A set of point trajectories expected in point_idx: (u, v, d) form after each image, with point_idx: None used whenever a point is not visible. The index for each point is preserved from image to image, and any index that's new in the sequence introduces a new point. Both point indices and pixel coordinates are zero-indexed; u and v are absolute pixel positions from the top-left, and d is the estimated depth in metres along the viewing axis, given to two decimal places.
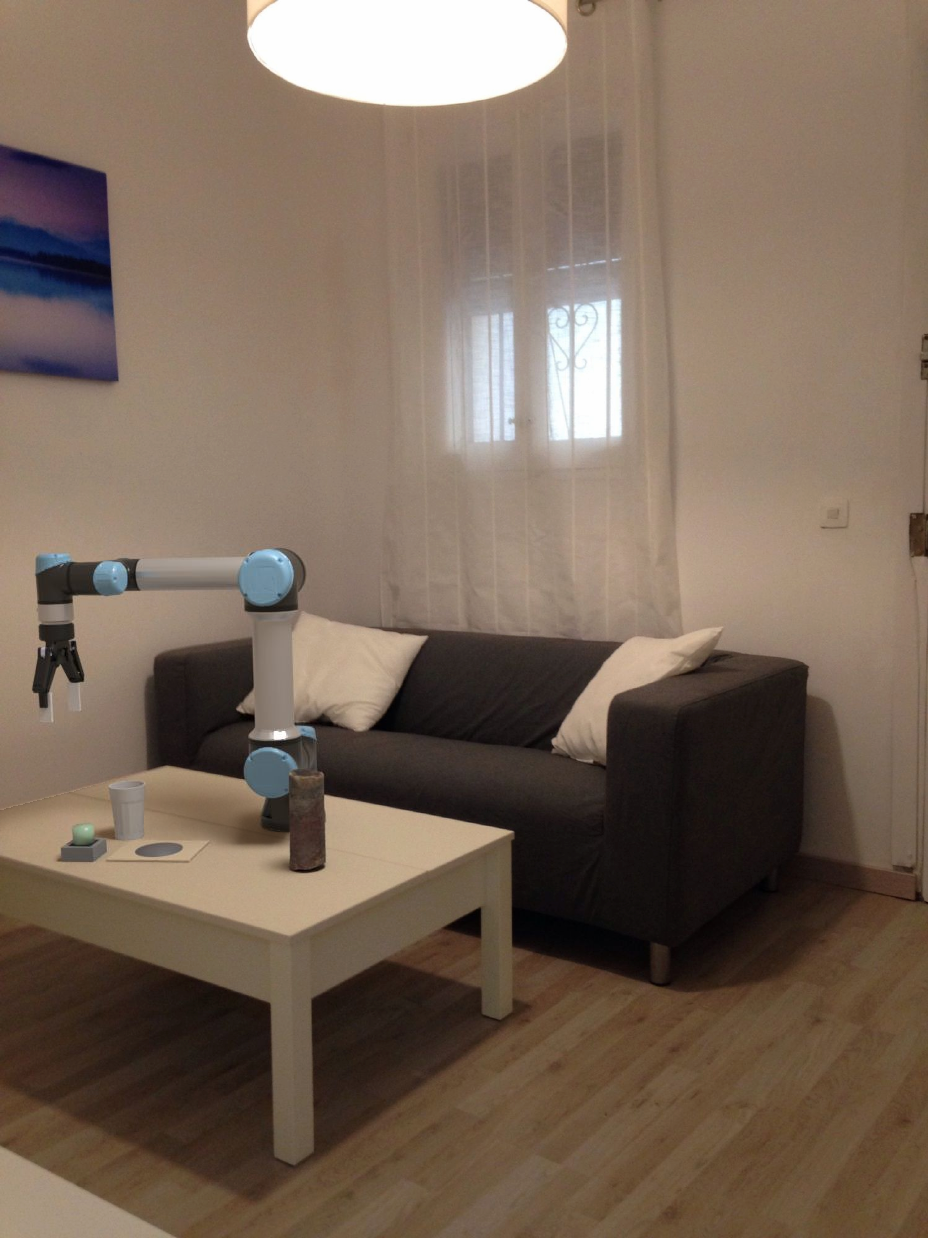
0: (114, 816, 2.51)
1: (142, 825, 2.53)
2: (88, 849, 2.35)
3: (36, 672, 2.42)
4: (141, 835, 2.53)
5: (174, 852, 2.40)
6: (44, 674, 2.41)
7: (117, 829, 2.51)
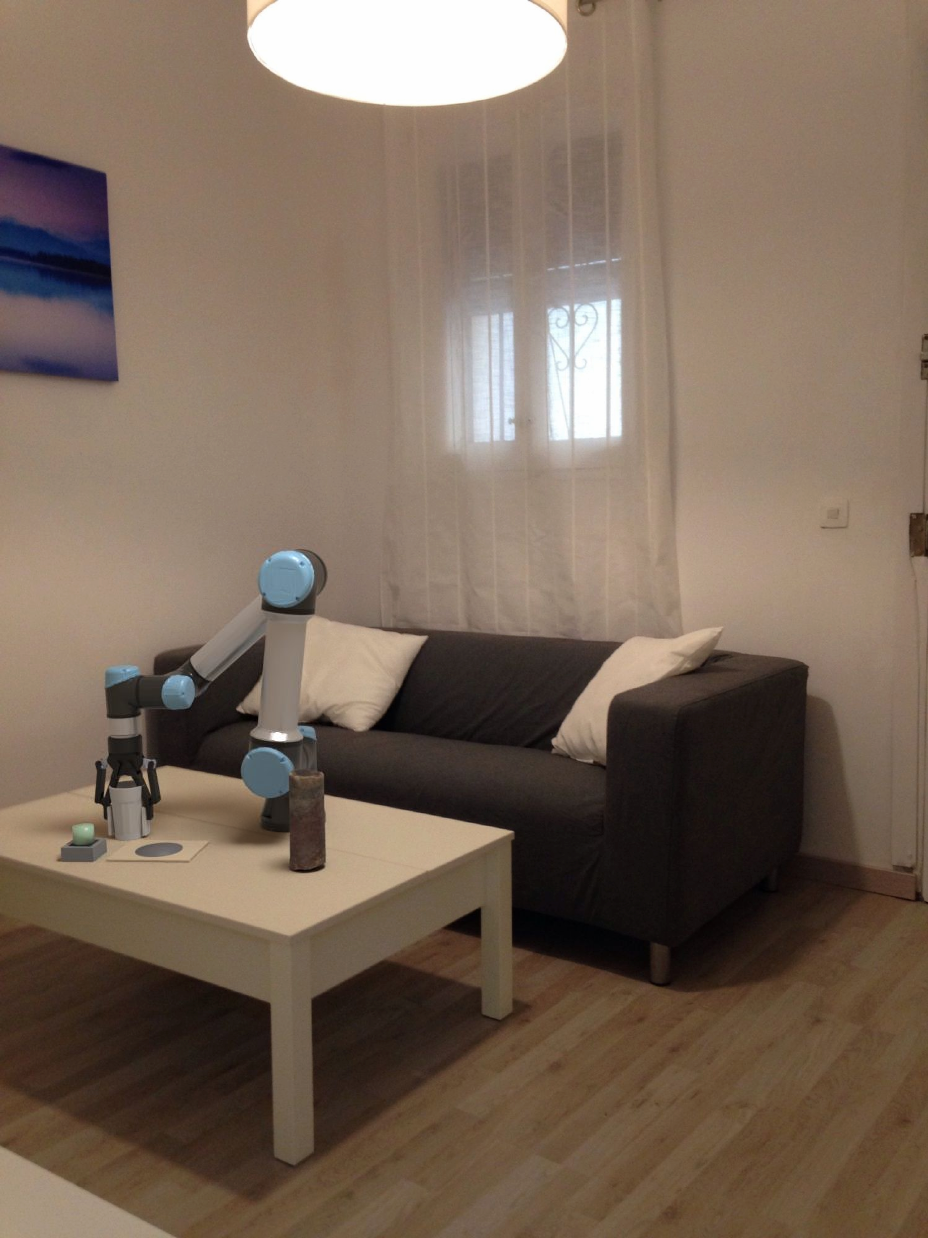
0: (114, 816, 2.51)
1: None
2: (88, 849, 2.35)
3: None
4: (141, 835, 2.53)
5: (174, 852, 2.40)
6: (96, 787, 2.52)
7: (117, 829, 2.51)
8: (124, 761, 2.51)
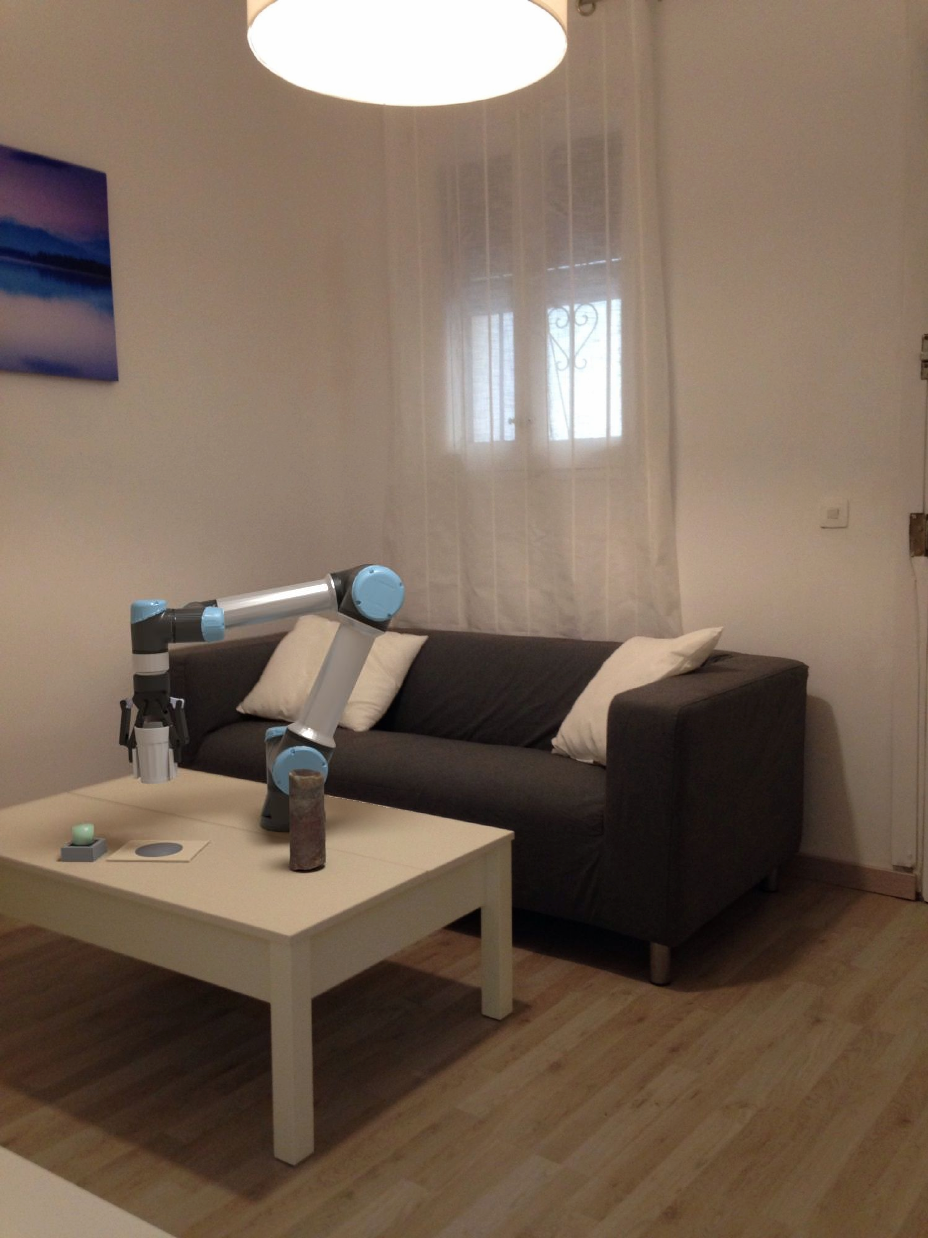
0: (140, 758, 2.38)
1: (169, 768, 2.40)
2: (88, 849, 2.35)
3: None
4: (168, 779, 2.39)
5: (174, 852, 2.40)
6: None
7: (143, 772, 2.38)
8: (150, 700, 2.38)
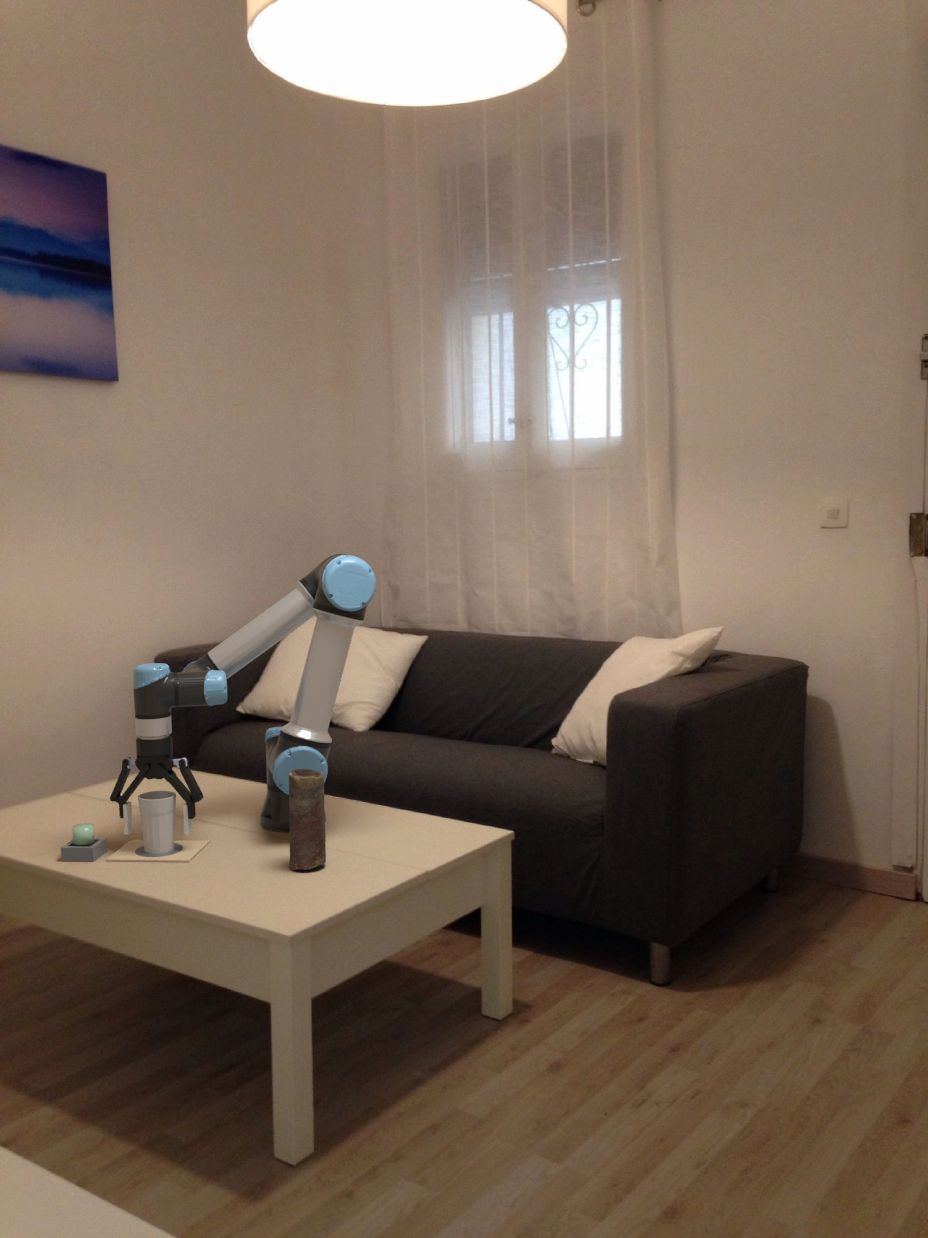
0: (143, 828, 2.39)
1: (173, 838, 2.41)
2: (88, 849, 2.35)
3: None
4: (172, 848, 2.41)
5: (174, 852, 2.40)
6: None
7: (147, 842, 2.39)
8: (153, 764, 2.39)
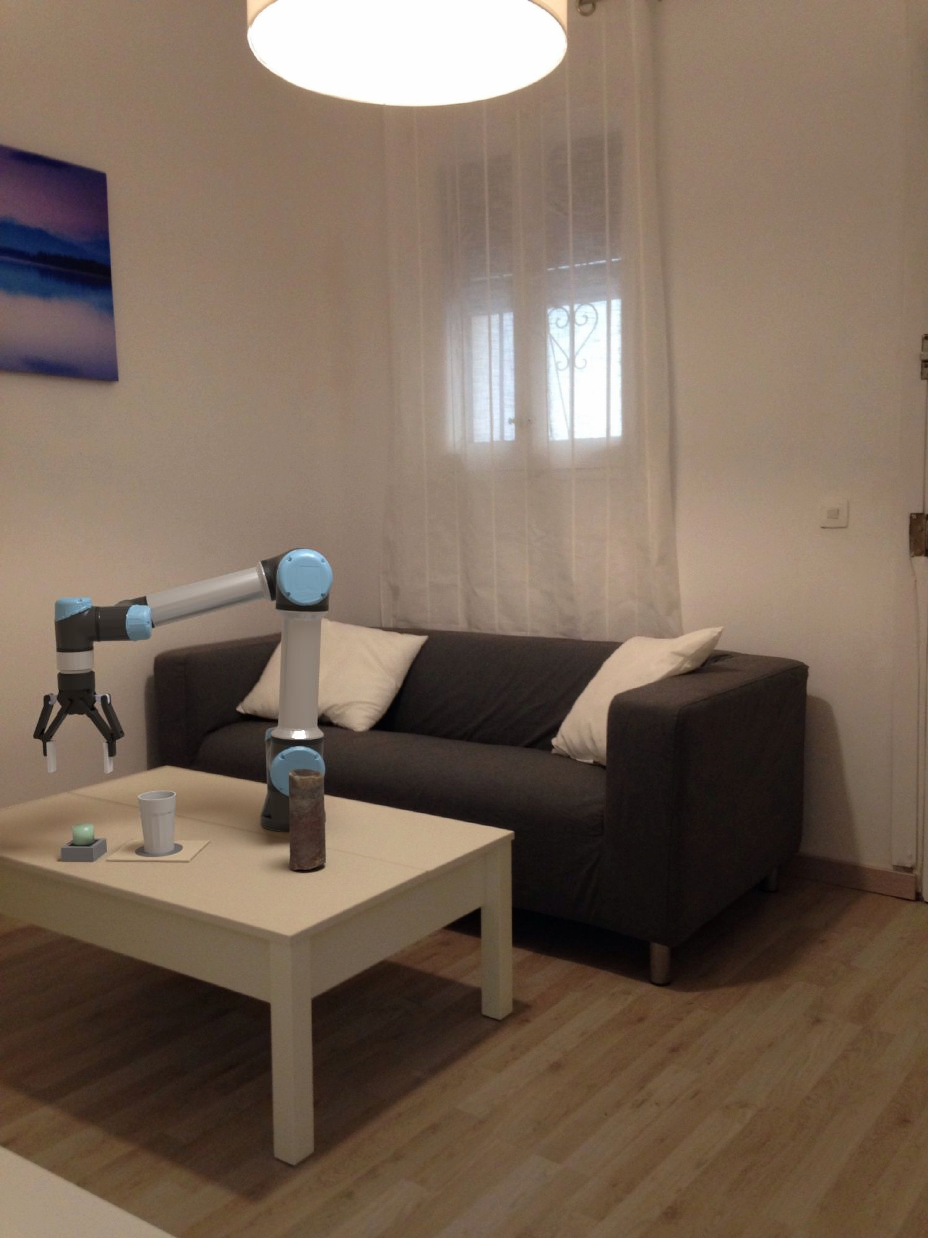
0: (143, 828, 2.39)
1: (173, 838, 2.41)
2: (88, 849, 2.35)
3: None
4: (171, 848, 2.41)
5: (174, 852, 2.40)
6: (38, 721, 2.36)
7: (147, 842, 2.39)
8: (75, 699, 2.35)
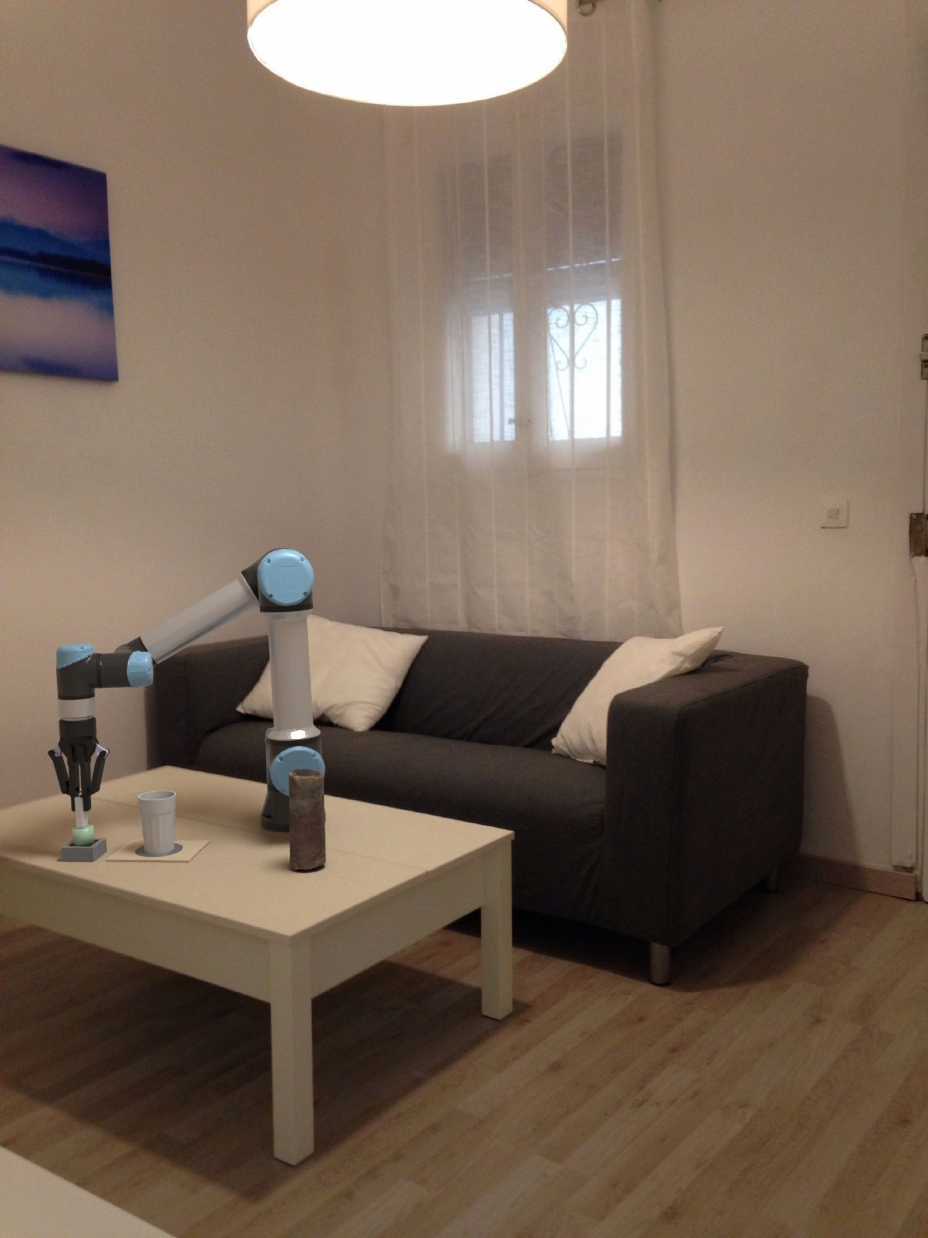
0: (143, 828, 2.39)
1: (173, 838, 2.41)
2: (88, 849, 2.35)
3: None
4: (171, 848, 2.41)
5: (174, 852, 2.40)
6: (58, 778, 2.37)
7: (147, 842, 2.39)
8: (76, 745, 2.36)
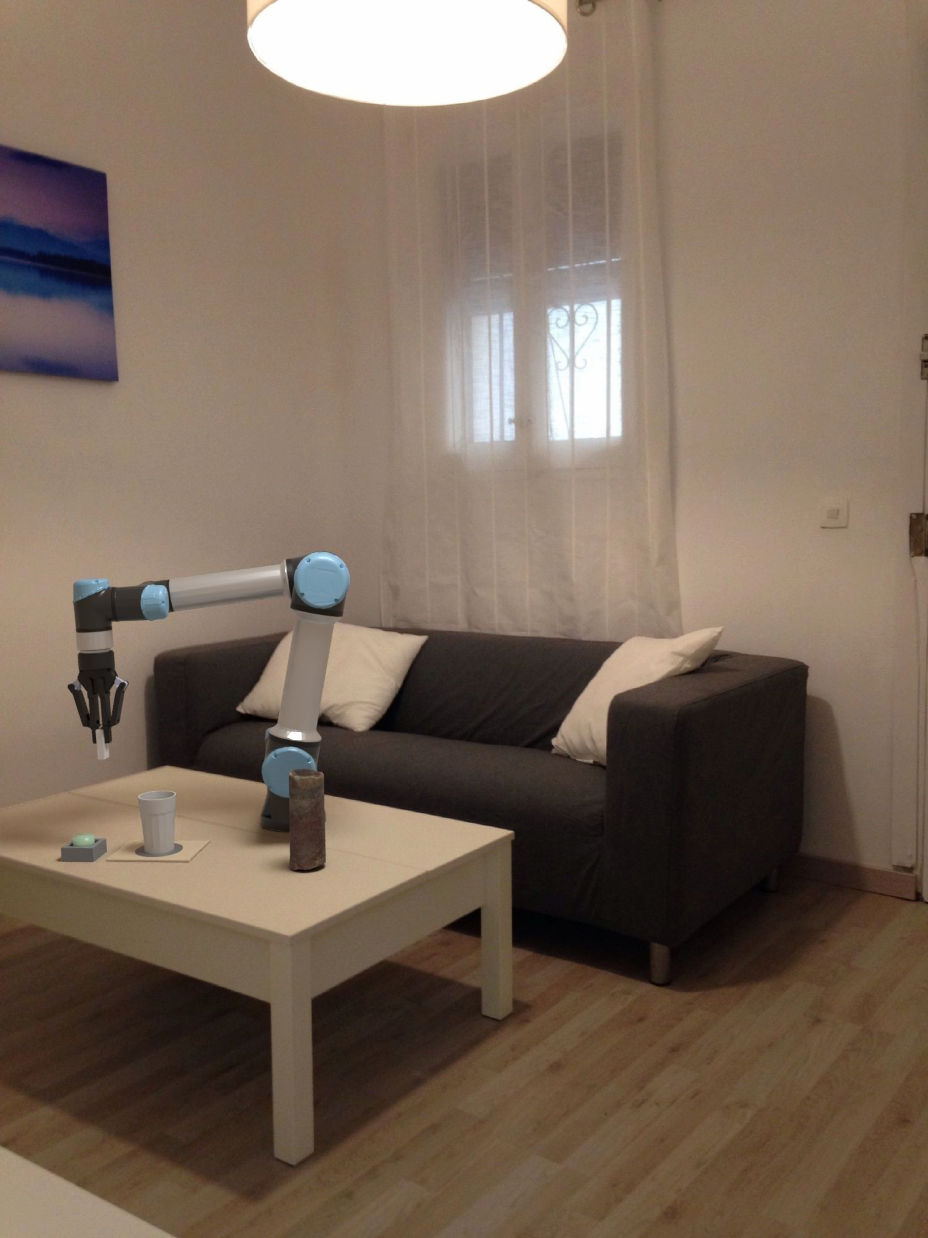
0: (143, 828, 2.39)
1: (173, 838, 2.41)
2: (88, 849, 2.35)
3: None
4: (171, 848, 2.41)
5: (174, 852, 2.40)
6: None
7: (147, 842, 2.39)
8: (96, 678, 2.40)
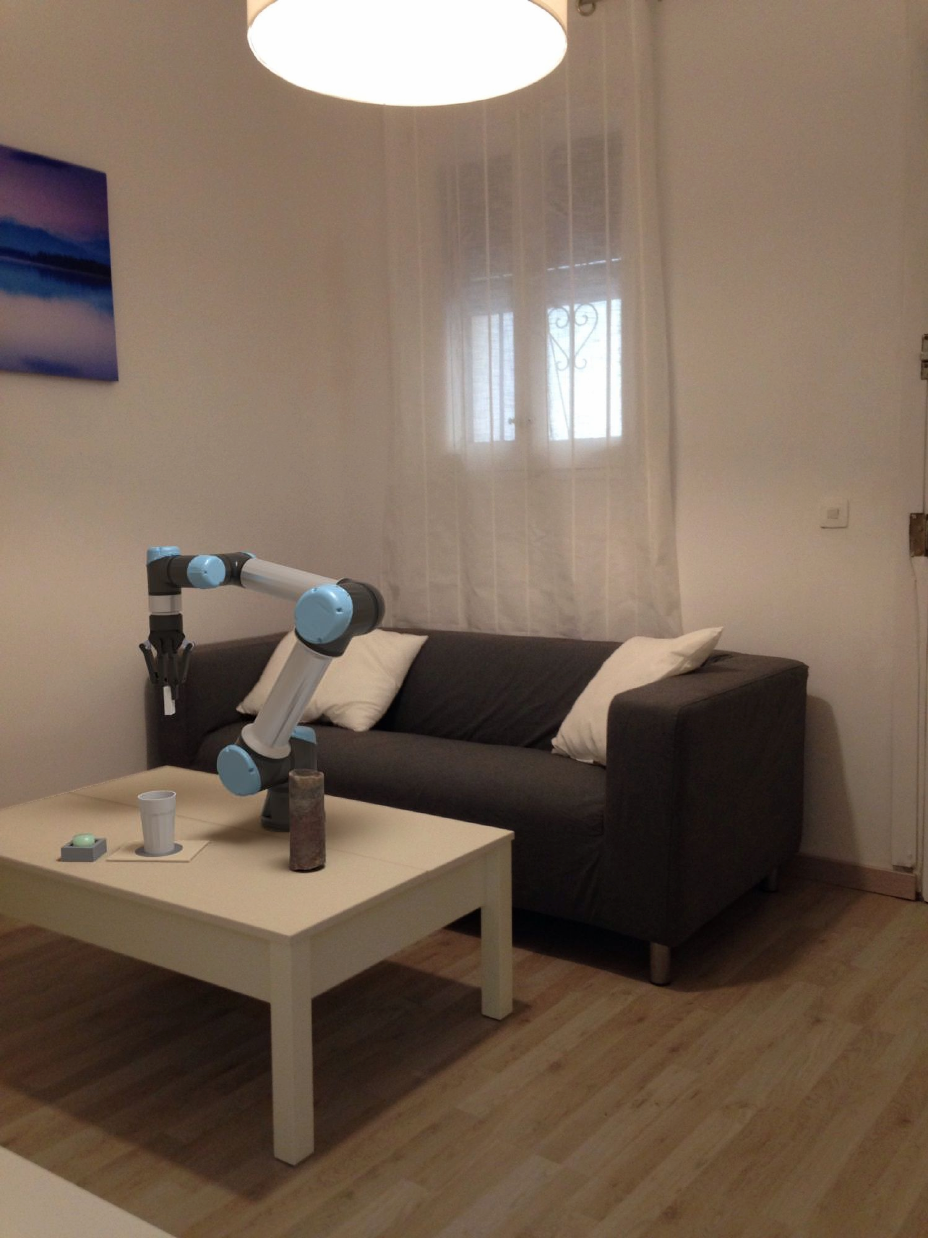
0: (143, 828, 2.39)
1: (173, 838, 2.41)
2: (88, 849, 2.35)
3: None
4: (171, 848, 2.41)
5: (174, 852, 2.40)
6: (148, 669, 2.59)
7: (147, 842, 2.39)
8: (165, 639, 2.58)
